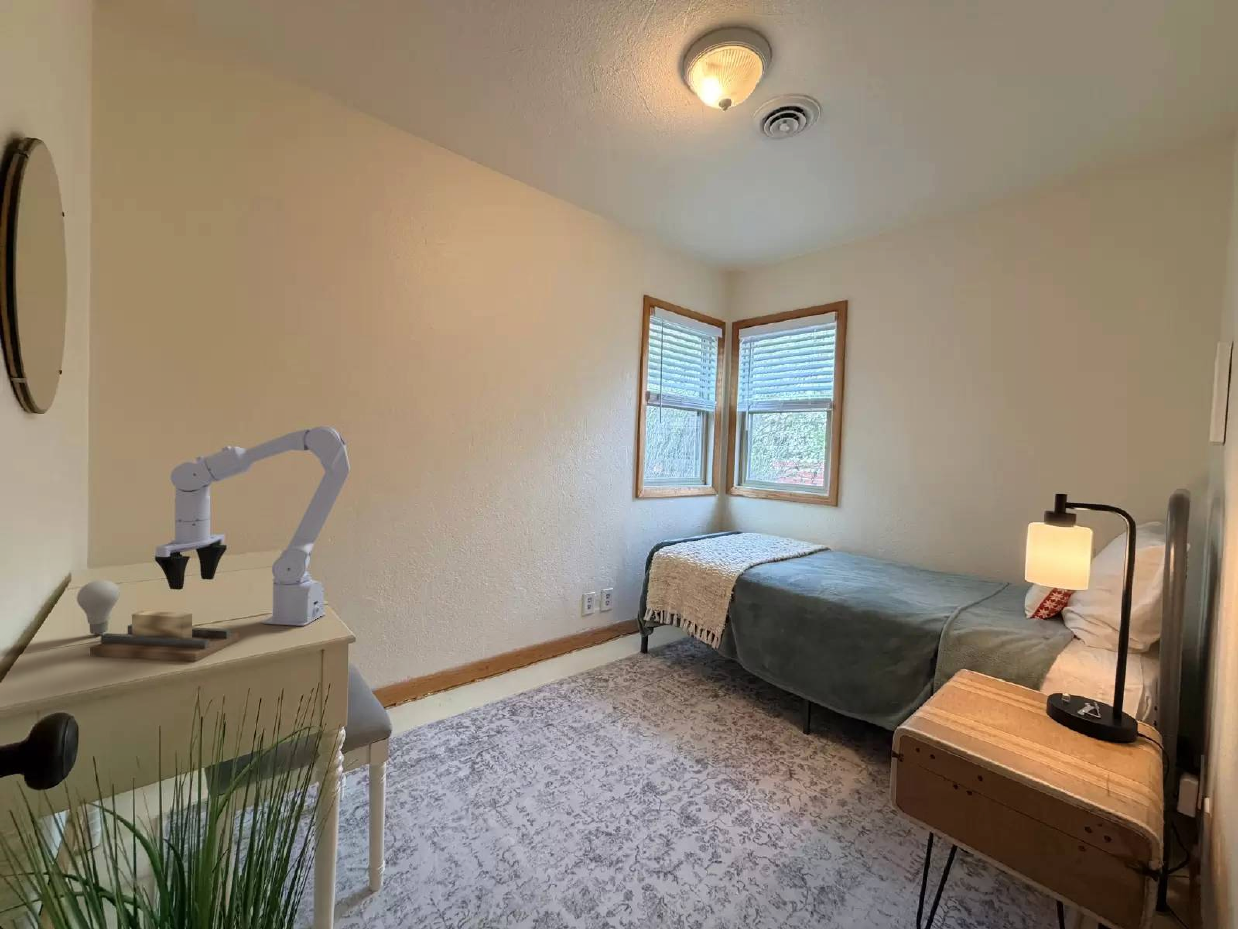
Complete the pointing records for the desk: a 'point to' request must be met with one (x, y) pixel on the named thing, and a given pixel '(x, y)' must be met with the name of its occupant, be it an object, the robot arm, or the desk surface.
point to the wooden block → (162, 624)
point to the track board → (165, 645)
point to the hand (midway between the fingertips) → (192, 583)
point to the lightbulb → (98, 603)
